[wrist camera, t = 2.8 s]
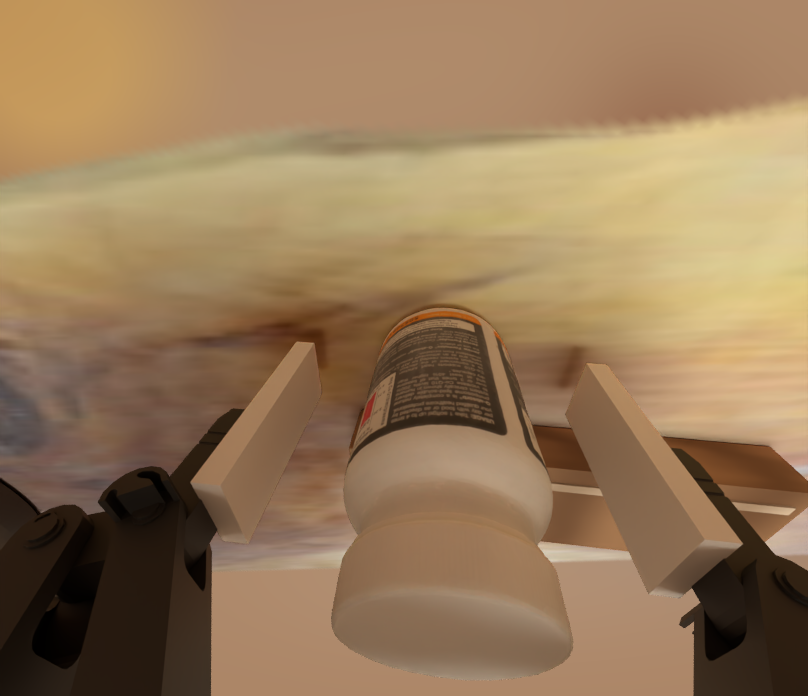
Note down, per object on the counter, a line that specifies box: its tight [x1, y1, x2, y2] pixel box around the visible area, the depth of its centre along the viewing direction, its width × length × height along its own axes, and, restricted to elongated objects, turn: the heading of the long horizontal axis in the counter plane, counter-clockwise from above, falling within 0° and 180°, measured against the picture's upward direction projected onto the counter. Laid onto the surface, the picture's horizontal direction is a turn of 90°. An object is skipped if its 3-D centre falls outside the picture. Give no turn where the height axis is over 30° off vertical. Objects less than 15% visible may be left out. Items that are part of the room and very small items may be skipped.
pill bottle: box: [331, 308, 573, 680], centre depth 10 cm, size 6×6×10 cm
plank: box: [349, 410, 808, 551], centre depth 16 cm, size 20×6×3 cm, turn 89°
